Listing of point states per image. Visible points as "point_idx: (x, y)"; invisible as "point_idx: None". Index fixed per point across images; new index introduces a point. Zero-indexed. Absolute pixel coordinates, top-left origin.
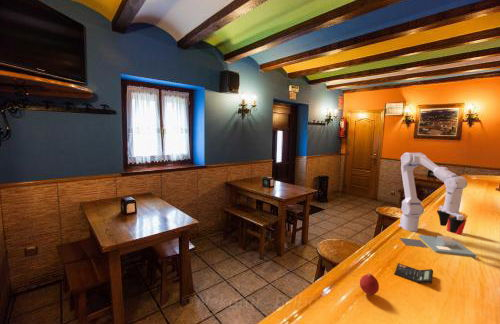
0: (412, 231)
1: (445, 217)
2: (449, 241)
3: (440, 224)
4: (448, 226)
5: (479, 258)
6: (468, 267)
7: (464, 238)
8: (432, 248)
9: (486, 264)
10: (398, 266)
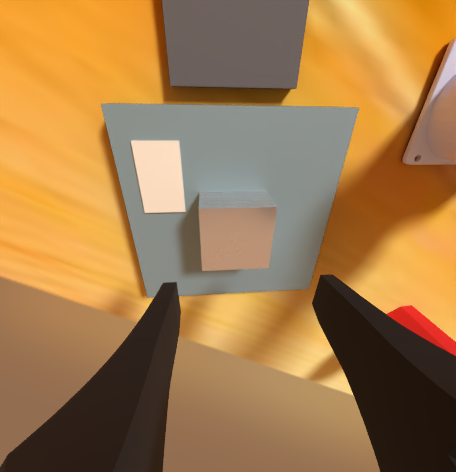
0: (436, 106)
1: (368, 382)
2: (200, 240)
3: (333, 278)
4: (423, 323)
5: None
6: (30, 215)
7: None
8: (153, 104)
9: (116, 296)
10: None
